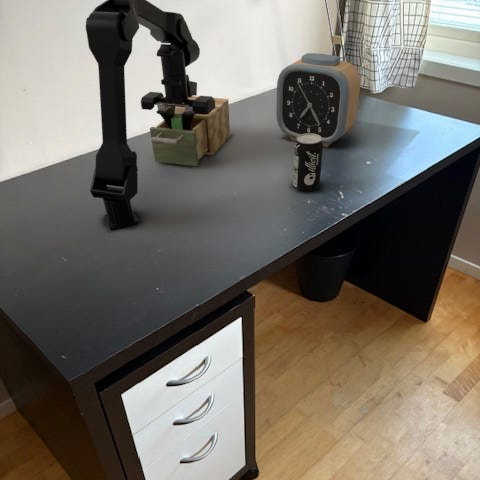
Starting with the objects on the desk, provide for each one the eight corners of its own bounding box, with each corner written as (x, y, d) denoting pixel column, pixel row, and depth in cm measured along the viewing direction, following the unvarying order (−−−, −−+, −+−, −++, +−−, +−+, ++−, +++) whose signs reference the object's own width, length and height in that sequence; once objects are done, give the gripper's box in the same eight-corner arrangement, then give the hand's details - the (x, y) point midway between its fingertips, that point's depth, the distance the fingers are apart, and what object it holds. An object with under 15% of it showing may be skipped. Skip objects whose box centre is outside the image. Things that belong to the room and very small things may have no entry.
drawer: (189, 173, 122) (185, 139, 117) (146, 168, 126) (140, 135, 120) (215, 146, 135) (213, 114, 129) (175, 142, 138) (171, 110, 133)
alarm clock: (275, 138, 140) (276, 57, 126) (290, 127, 146) (292, 48, 132) (340, 151, 132) (349, 65, 117) (353, 139, 138) (363, 56, 123)
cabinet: (212, 155, 133) (209, 116, 126) (168, 150, 136) (163, 112, 129) (230, 135, 143) (228, 98, 136) (188, 131, 147) (185, 95, 139)
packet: (190, 138, 130) (187, 114, 125) (184, 144, 127) (181, 119, 122) (180, 137, 130) (177, 113, 126) (174, 143, 128) (170, 118, 123)
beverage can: (324, 185, 117) (329, 137, 109) (308, 195, 113) (312, 146, 105) (303, 178, 120) (306, 130, 112) (287, 187, 117) (288, 138, 109)
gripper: (221, 66, 120) (224, 128, 131) (155, 62, 125) (163, 122, 136) (204, 78, 113) (209, 144, 123) (134, 74, 118) (145, 137, 128)
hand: (181, 136), depth 128 cm, fingers closed on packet, 3 cm apart
